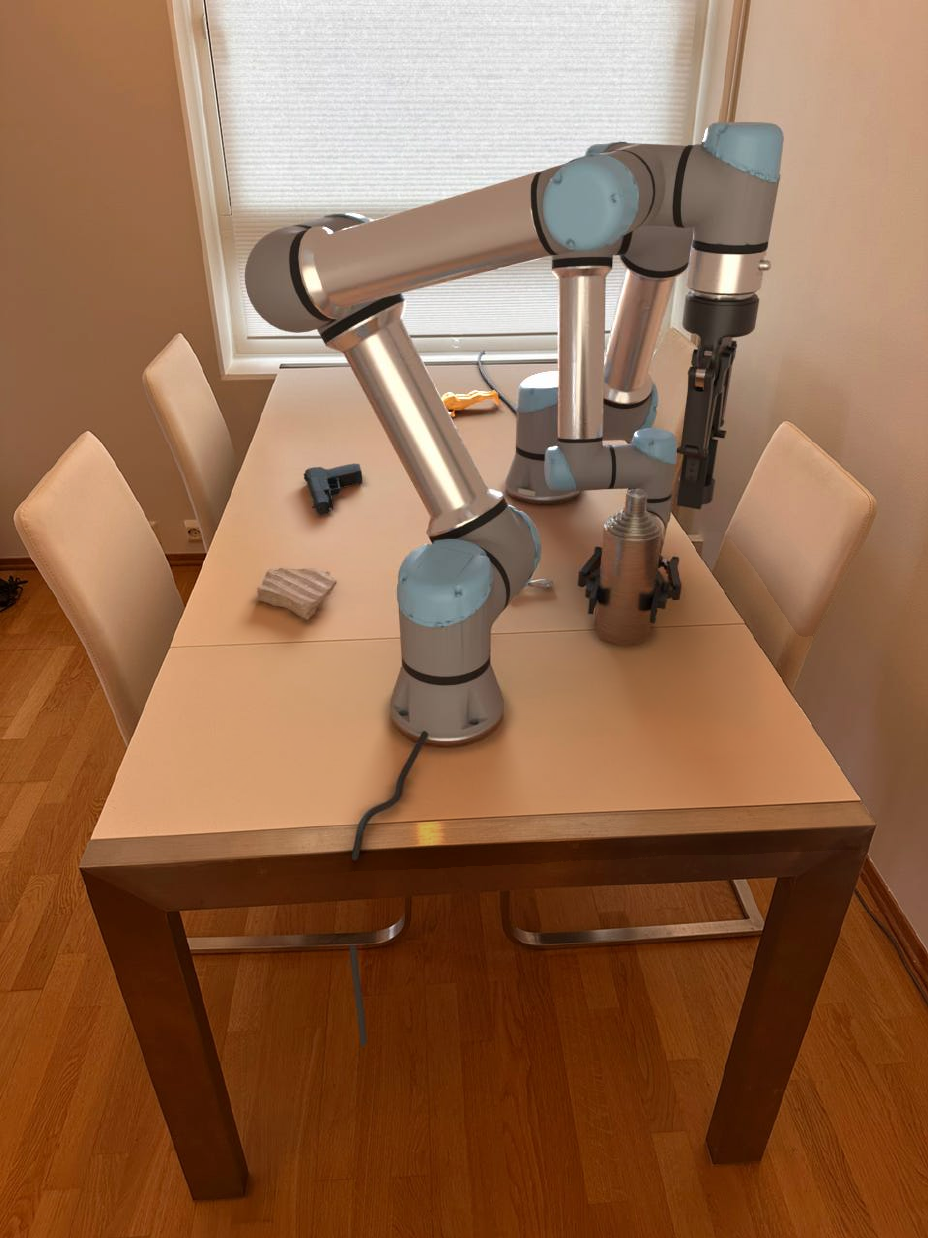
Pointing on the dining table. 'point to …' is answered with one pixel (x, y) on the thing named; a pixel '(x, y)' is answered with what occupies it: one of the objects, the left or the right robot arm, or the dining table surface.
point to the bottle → (628, 572)
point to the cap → (705, 489)
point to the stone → (296, 589)
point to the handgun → (330, 484)
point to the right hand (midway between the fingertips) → (621, 610)
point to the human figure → (467, 400)
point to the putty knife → (541, 583)
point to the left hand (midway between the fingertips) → (693, 497)
